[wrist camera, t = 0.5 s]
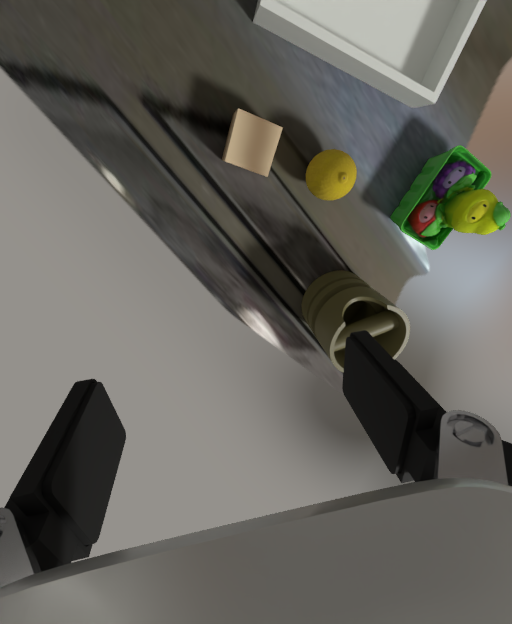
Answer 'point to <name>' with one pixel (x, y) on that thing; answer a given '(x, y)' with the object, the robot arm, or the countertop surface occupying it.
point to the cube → (251, 142)
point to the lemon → (331, 174)
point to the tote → (379, 39)
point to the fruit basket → (450, 200)
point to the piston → (352, 315)
